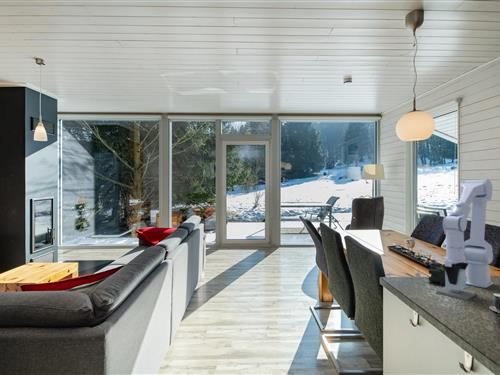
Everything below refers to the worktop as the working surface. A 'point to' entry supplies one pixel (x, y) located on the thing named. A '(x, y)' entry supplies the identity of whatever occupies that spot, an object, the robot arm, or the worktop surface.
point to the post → (455, 290)
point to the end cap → (437, 275)
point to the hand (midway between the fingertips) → (455, 282)
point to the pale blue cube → (460, 280)
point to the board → (461, 295)
